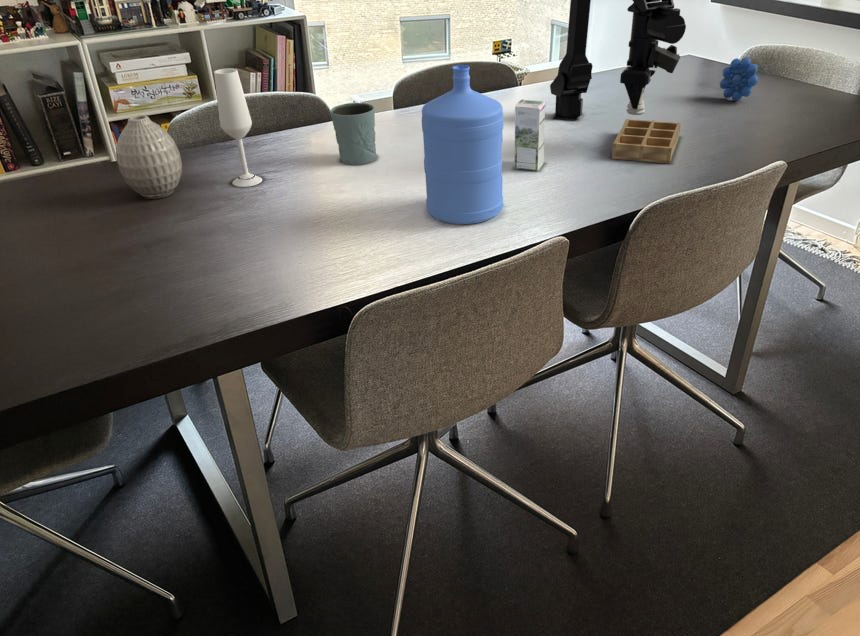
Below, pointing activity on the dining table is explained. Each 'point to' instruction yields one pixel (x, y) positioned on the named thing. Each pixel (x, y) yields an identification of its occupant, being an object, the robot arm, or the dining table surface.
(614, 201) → the dining table surface
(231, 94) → the champagne flute
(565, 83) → the robot arm
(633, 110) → the rook chess piece
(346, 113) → the green embossed cup
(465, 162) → the water jug
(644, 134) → the rack
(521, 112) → the syrup box
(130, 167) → the vase
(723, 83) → the grapes
